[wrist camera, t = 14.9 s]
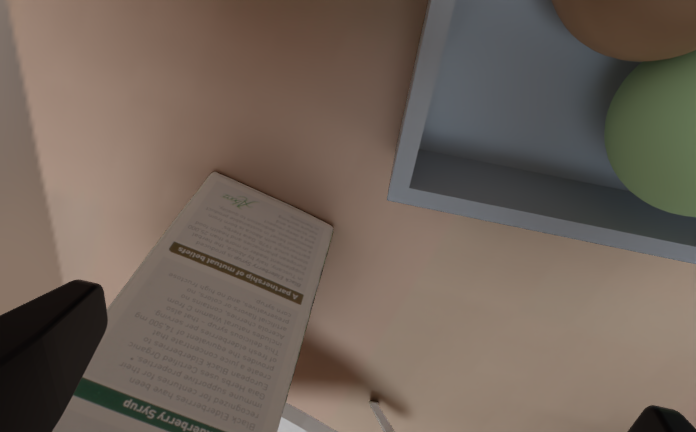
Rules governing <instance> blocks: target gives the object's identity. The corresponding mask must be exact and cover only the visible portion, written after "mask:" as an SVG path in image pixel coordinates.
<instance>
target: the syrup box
mask: <svg viewBox="0 0 696 432" xmlns="http://www.w3.org/2000/svg"><path fill="white" fill-rule="evenodd" d="M332 235H333V227H332V226H331V225H329V224H327V223H325V222H324V221H322V220H319V219H317V218H315V217H314V216H311V215H309V214H307V213H305V212H303V211H301V210H299V209H297V208H295V207H293V206H291V205H288V204H286V203H284V202H282V201H280V200H277V199H275V198H273V197H271V196H268V195H266V194H264V193H262V192H260V191H257V190H255V189H253V188H251V187H249V186H246V185H244V184H242V183H239V182H237V181H235V180H233V179H231V178H228V177H226V176H224V175H221V174H219V173H217V172H213V173H211V174H210V175H209V176H208V177H207V179H206V180H205V181H204V183H203V184H202V185H201V187H200V188H199V189H198V191H197V192H196V193H195V194H194V195H193V197H192V198H191V199H190V201H189V202H188V203H187V204H186V205H185V207H184V208H183V209H182V210H181V212H180V213H179V214H178V216H177V217H176V218H175V220H174V221H173V222H172V224H171V225H170V226H169V227H168V229H167V230H166V231H165V233H164V234H163V235H162V237H161V238H160V239H159V241H158V242H157V243H156V245H155V246H154V247H153V248H152V250H151V251H150V252H149V254H148V255H147V256H146V258H145V259H144V260H143V262H142V263H141V264H140V266H139V267H138V269H137V270H136V271H135V273H134V274H133V275H132V277H131V278H130V279H129V281H128V282H127V283H126V285H125V286H124V287H123V289H122V290H121V291H120V293H119V294H118V295H117V297H116V298H115V299H114V301H113V302H112V303H111V304H110V306H109V307H108V308H107V316H108V324H107V328H106V331H105V334H104V336H103V338H102V340H101V341H100V343H99V345H98V347H97V349H96V351H95V353H94V355H93V357H92V359H91V361H90V363H89V365H88V367H87V369H86V371H85V373H84V375H83V377H82V379H81V381H80V382H79V384H78V386H77V388H76V390H75V392H74V394H73V396H72V398H71V400H70V402H69V404H68V406H67V407H66V409H65V411H64V413H63V415H62V416H61V418H60V420H59V421H58V423H57V425H56V426H55V428H54V429H53V431H52V432H277V431H278V427H279V424H280V420H281V417H282V413H283V410H284V407H285V403H286V400H287V396H288V392H289V389H290V385H291V382H292V378H293V375H294V371H295V367H296V363H297V360H298V357H299V354H300V349H301V346H302V342H303V339H304V335H305V331H306V328H307V324H308V321H309V317H310V313H311V309H312V306H313V303H314V299H315V295H316V292H317V288H318V285H319V282H320V278H321V275H322V271H323V267H324V264H325V260H326V256H327V253H328V250H329V246H330V242H331V238H332Z"/></svg>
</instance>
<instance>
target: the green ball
mask: <svg viewBox="0 0 696 432" xmlns="http://www.w3.org/2000/svg"><path fill="white" fill-rule="evenodd" d="M604 140H605V147H606V151H607V156H608V159H609V162H610V164H611V166H612V168H613V170H614V172H615V173H616V175H617V176H618V178H619V180H620V181H621V182H622V183H623V184H624V185H625V186H626V187H627V188H628V189H629V190H630V191H631V192H632V193H633V194H634V195H636V196H637V197H638V198H640V199H641V200H643V201H644V202H646V203H648V204H650V205H651V206H653V207H656V208H658V209H661V210H663V211H666V212H669V213H673V214H678V215H682V216H689V217H696V50H695V51H693V52H690V53H687V54H684V55H682V56H678V57H674V58H670V59H664V60H656V61H644V62H641V63H640V64H639V65H638V66H637V67H636V68H635V69H634V70H633V71H632V72H631V73H630V74H629V75H628V76H627V77H626V78H625V80H624V81H623V82H622V84H621V85H620V87H619V88H618V90H617V91H616V93H615V95H614V97H613V99H612V101H611V103H610V106H609V109H608V111H607V116H606V120H605V130H604Z"/></svg>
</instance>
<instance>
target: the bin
mask: <svg viewBox="0 0 696 432" xmlns="http://www.w3.org/2000/svg"><path fill="white" fill-rule="evenodd" d="M640 63H641V62H635V61H626V60H620V59H616V58H612V57H608V56H605V55H603V54H600V53H598V52H595V51H594V50H592V49H590V48H589V47H587V46H585V45H584V44H582V43H581V42H580V41H579V40H577V39H576V38H575V37H574V36H573V35H572V34H571V33H570V32H569V31H568V30H567V28H566V27H565V26H564V24H563V23H562V21H561V20H560V18H559V16H558V15H557V13H556V11H555V8H554V6H553V3H552V1H551V0H429V1H428V5H427V10H426V14H425V19H424V23H423V28H422V32H421V37H420V42H419V46H418V51H417V55H416V60H415V64H414V69H413V73H412V78H411V82H410V87H409V91H408V96H407V100H406V105H405V110H404V114H403V119H402V123H401V128H400V132H399V137H398V141H397V146H396V150H395V155H394V161H393V167H392V173H391V179H390V184H389V190H388V196H387V200H388V201H393V202H398V203H403V204H407V205H412V206H417V207H422V208H427V209H432V210H436V211H441V212H446V213H451V214H456V215H461V216H465V217H470V218H475V219H480V220H485V221H490V222H494V223H499V224H504V225H509V226H514V227H519V228H524V229H528V230H533V231H538V232H543V233H548V234H553V235H557V236H562V237H567V238H572V239H577V240H582V241H586V242H591V243H596V244H601V245H606V246H611V247H615V248H620V249H625V250H630V251H635V252H640V253H644V254H649V255H654V256H659V257H664V258H669V259H673V260H678V261H683V262H688V263H693V264H696V217H689V216H682V215H678V214H673V213H669V212H666V211H663V210H661V209H658V208H656V207H653V206H651V205H650V204H648V203H646V202H644V201H643V200H641V199H640V198H638V197H637V196H636V195H634V194H633V193H632V192H631V191H630V190H629V189H628V188H627V187H626V186H625V185H624V184H623V183H622V182H621V181H620V180H619V178H618V176H617V175H616V173H615V172H614V170H613V168H612V166H611V164H610V162H609V159H608V156H607V151H606V147H605V140H604V130H605V120H606V116H607V111H608V109H609V106H610V103H611V101H612V99H613V97H614V95H615V93H616V91H617V90H618V88H619V87H620V85H621V84H622V82H623V81H624V80H625V78H626V77H627V76H628V75H629V74H630V73H631V72H632V71H633V70H634V69H635V68H636V67H637V66H638V65H639V64H640Z"/></svg>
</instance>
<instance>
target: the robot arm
mask: <svg viewBox="0 0 696 432" xmlns="http://www.w3.org/2000/svg"><path fill="white" fill-rule="evenodd" d="M107 324H108V316H107V310H106V303H105V297H104V291H103V288H102V287H101V285H99V284H97V283H93V282H88V281H84V280H74V281H71V282H69V283H67V284H65V285H62V286H60V287H58V288H56V289H54V290H52V291H50V292H48V293H46V294H44V295H42V296H40V297H38V298H36V299H34V300H32V301H29V302H27V303H26V304H23V305H21V306H19V307H17V308H15V309H13V310H11V311H9V312H7V313H5V314H2V315H0V432H52V431H53V429H54V428H55V426H56V425H57V423H58V421H59V420H60V418H61V416H62V415H63V413H64V411H65V409H66V407H67V406H68V404H69V402H70V400H71V398H72V396H73V394H74V392H75V390H76V388H77V386H78V384H79V382H80V381H81V379H82V377H83V375H84V373H85V371H86V369H87V367H88V365H89V363H90V361H91V359H92V357H93V355H94V353H95V351H96V349H97V347H98V345H99V343H100V341H101V340H102V338H103V336H104V334H105V331H106V328H107ZM628 432H696V429H695V428H694V427H693V426H692V425H691V423H690V422H689V421H688V420H687V419H686V418H685V417H684V416H683V415H682V414H680V413H679V412H678V411H675V410H672V409H668V408H663V407H659V406H654V405H651V406H649V407H646V408H645V409H644V410H643V412H642V413H641V414H640V416H639V417H638V418H637V420H636V421H635V422H634V424H633V425H632V426H631V428H630V429H629V430H628Z"/></svg>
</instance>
